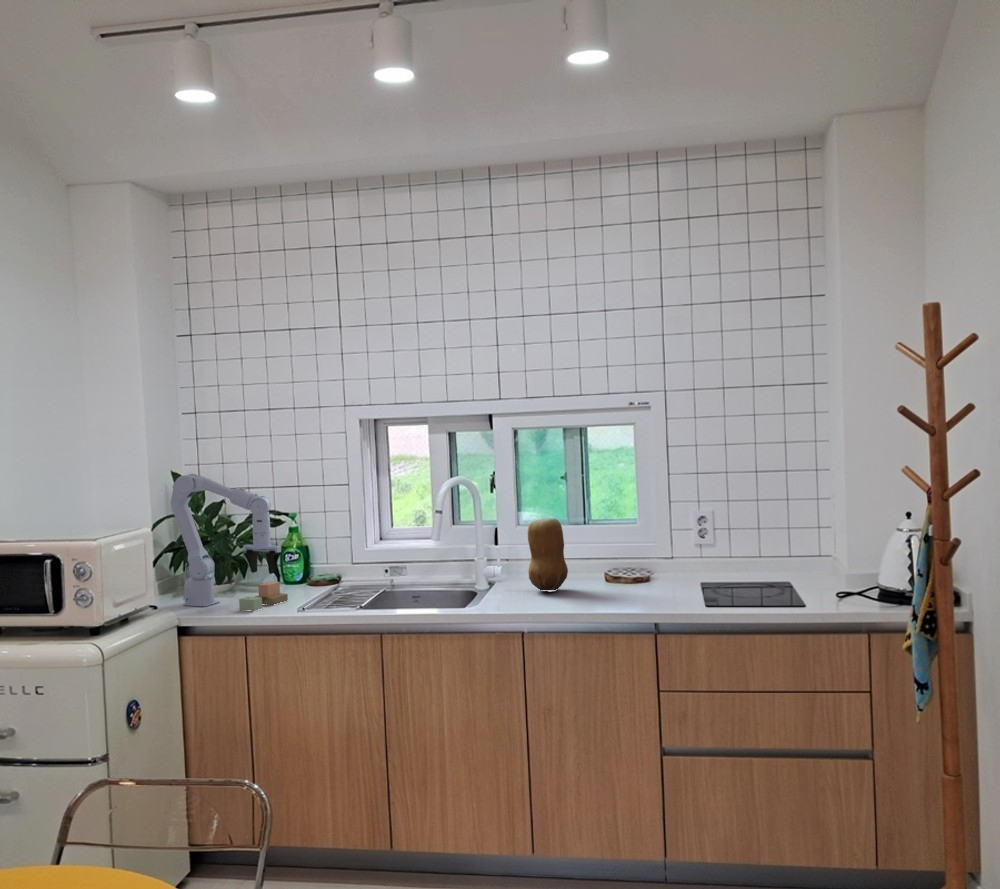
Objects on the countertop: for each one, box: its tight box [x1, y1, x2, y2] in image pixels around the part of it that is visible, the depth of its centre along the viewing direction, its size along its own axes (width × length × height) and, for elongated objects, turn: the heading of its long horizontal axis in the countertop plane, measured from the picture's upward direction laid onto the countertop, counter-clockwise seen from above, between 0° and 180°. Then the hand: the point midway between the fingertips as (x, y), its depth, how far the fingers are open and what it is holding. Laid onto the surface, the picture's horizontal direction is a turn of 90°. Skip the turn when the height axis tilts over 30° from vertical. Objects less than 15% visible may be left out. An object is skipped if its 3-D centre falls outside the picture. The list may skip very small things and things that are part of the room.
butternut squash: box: [527, 518, 569, 591], centre depth 322 cm, size 14×13×25 cm
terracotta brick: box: [257, 581, 281, 597], centre depth 320 cm, size 6×4×4 cm, turn 154°
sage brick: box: [238, 596, 263, 611], centre depth 310 cm, size 6×4×4 cm, turn 64°
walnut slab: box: [254, 592, 289, 606], centre depth 321 cm, size 8×8×3 cm
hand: (263, 572), depth 322 cm, fingers open, 7 cm apart
